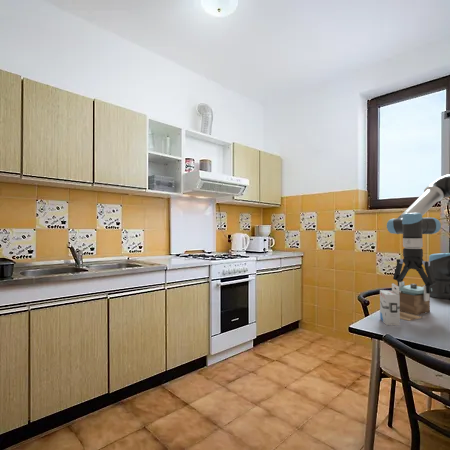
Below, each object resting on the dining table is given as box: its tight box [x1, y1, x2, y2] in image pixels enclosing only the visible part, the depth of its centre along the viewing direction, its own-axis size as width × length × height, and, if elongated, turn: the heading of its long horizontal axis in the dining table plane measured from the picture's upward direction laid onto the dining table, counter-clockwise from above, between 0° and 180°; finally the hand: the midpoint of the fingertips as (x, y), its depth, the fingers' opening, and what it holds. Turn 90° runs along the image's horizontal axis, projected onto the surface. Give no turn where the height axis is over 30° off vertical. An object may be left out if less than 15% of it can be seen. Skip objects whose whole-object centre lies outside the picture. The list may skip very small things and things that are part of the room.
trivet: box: [400, 311, 423, 322], centre depth 128 cm, size 9×9×1 cm
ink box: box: [379, 283, 401, 327], centre depth 121 cm, size 9×5×15 cm, turn 168°
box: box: [399, 292, 431, 316], centre depth 136 cm, size 10×8×8 cm
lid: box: [395, 283, 432, 295], centre depth 136 cm, size 10×10×4 cm
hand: (413, 298), depth 136 cm, fingers closed on lid, 10 cm apart
